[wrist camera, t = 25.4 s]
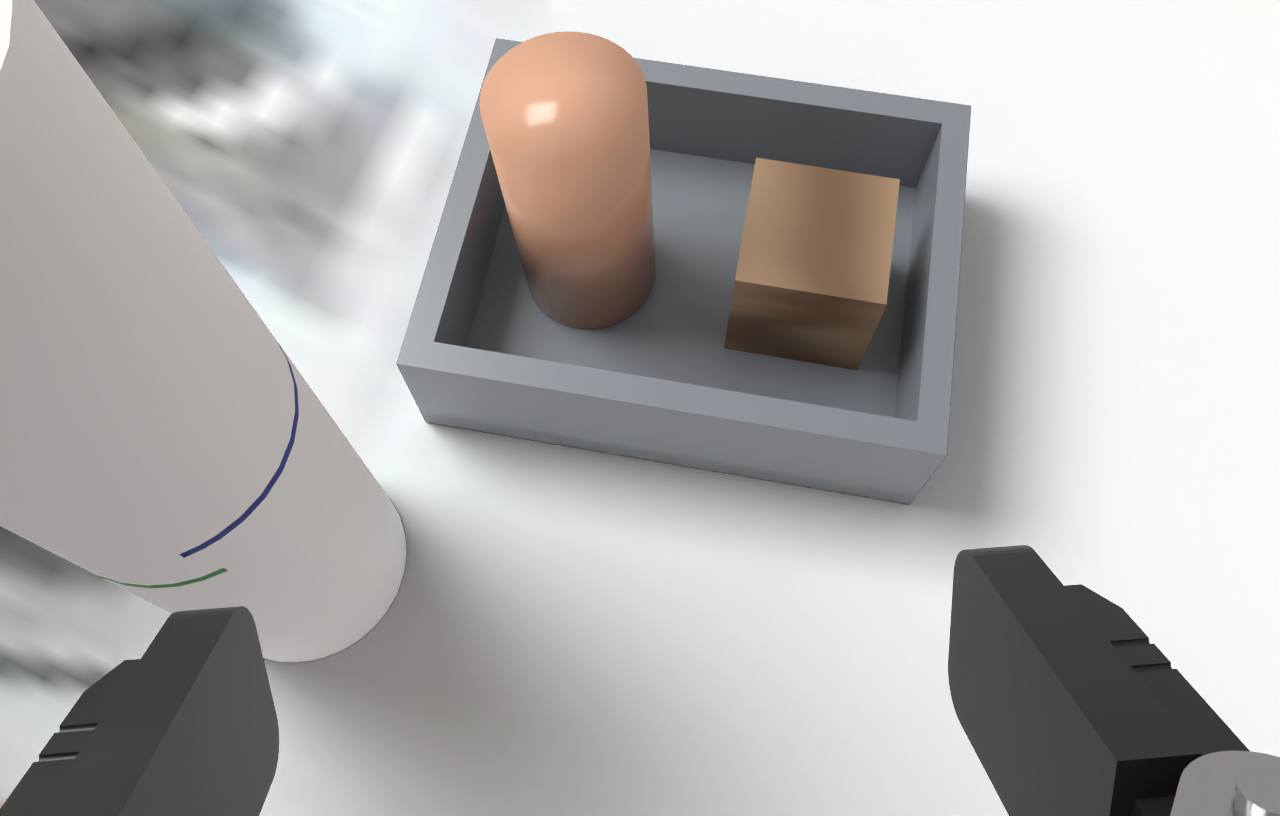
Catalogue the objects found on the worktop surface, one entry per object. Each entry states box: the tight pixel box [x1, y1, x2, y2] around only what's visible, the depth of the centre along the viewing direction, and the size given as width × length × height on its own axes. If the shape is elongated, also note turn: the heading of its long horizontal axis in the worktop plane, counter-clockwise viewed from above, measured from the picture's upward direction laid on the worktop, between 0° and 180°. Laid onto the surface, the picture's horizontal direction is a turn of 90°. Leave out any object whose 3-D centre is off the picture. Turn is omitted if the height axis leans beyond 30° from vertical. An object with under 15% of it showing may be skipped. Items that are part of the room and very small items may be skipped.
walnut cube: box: [724, 158, 900, 370], centre depth 37 cm, size 5×5×5 cm
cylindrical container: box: [0, 0, 407, 662], centre depth 25 cm, size 7×7×25 cm
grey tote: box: [396, 38, 971, 504], centre depth 38 cm, size 18×14×5 cm
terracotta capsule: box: [480, 32, 656, 329], centre depth 35 cm, size 5×5×10 cm
